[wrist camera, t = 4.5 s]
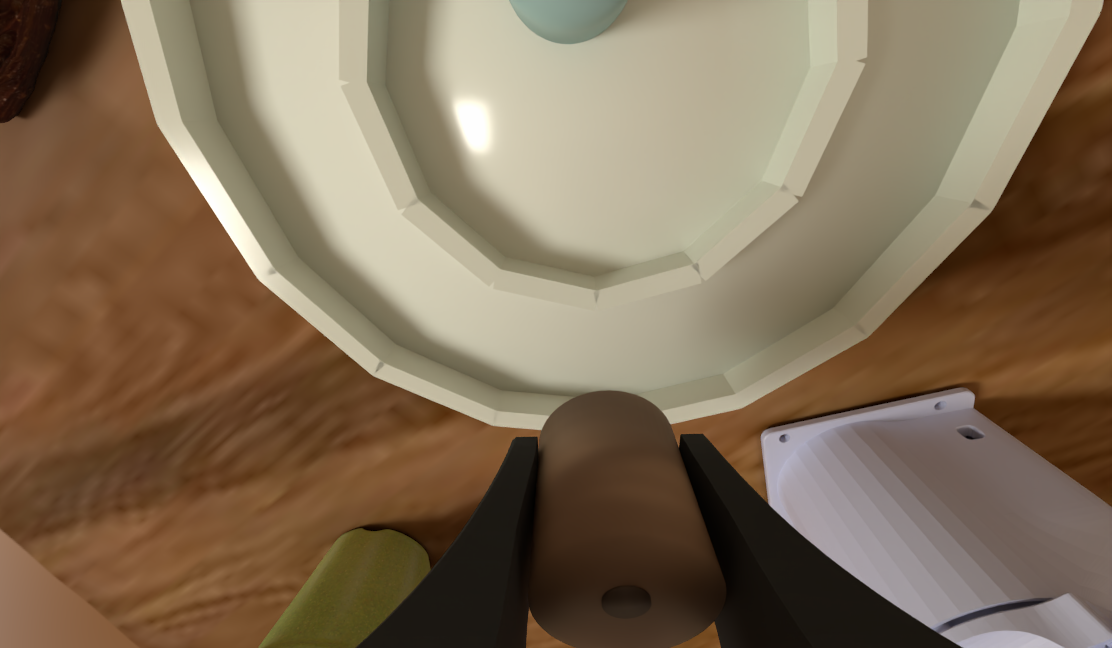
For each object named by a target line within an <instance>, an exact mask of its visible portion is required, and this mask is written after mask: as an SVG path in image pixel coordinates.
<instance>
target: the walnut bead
mask: <svg viewBox="0 0 1112 648" xmlns="http://www.w3.org/2000/svg"><path fill="white" fill-rule="evenodd" d="M538 453H539V454H538V468H537V481H536V492H535V505H534V519H533V533H532V546H531V560H530V573H529V587H528V603H529V608H530V611H531V613H532V616H533V617H534V619H535V620H536V622H537V623H538V624H539V625H540V626H541V627H542V628H543V629H544V630H545V631H546V632H547V633H549V634H550V635H551V636H553V637H554V638H556V639H558V640H560V641H562V642H564V643H566V644H568V645H570V646H573V647H576V648H670V647H673V646H676V645H679V644H681V643H683V642H685V641H688V640H689V639H691V638H693V637H695V636H697V635H698V634H699V633H701V632H702V631H704V630H705V629H706V628H707V627H708V626H710V625H711V624H712V623H713V622H714V620H715V619H716V618H717V617H718V615H719V614H720V612H721V610H722V609H723V606H724V603H725V600H726V583H725V580H724V577H723V574H722V571H721V568H720V565H719V562H718V560H717V557H716V554H715V551H714V548H713V545H712V542H711V539H710V537H709V534H708V531H707V528H706V525H705V522H704V519H703V516H702V514H701V511H700V508H699V505H698V502H697V499H696V496H695V494H694V491H693V488H692V485H691V482H690V479H689V476H688V473H687V471H686V468H685V465H684V462H683V459H682V456H681V453H680V450H679V448H678V445H677V442H676V439H675V436H674V433H673V430H672V428H671V425H670V423H669V421H668V419H667V417H666V416H665V415H664V413H663V412H662V411H661V410H660V409H659V408H658V407H657V406H656V405H654V404H653V403H652V402H650V401H648V400H646V399H645V398H643V397H640V396H638V395H635V394H632V393H628V392H623V391H613V390H605V391H595V392H589V393H586V394H582V395H579V396H577V397H575V398H572V399H570V400H569V401H567V402H565V403H564V404H562V405H561V406H559V407H558V408H557V409H556V410H555V411H554V412H553V413H552V414H551V415H550V416H549V418H548V419H547V420H546V422H545V424H544V426H543V428H542V431H541V434H540V439H539V451H538Z"/></svg>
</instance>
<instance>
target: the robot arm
mask: <svg viewBox="0 0 1112 648" xmlns="http://www.w3.org/2000/svg"><path fill="white" fill-rule="evenodd" d="M974 401H975V394H974V393H973V392H971V391H970V390H968V389H967V388H964V387H962V388H955V389H951V390H946V391H941V392H937V393H932V394H927V395H923V396H918V397H913V398H909V399H904V400H899V401H895V402H890V403H885V404H881V405H876V406H871V407H867V408H862V409H857V410H853V411H848V412H843V413H839V414H834V415H829V416H825V417H820V418H815V419H811V420H806V421H801V422H797V423H792V424H787V425H783V426H778V427H773V428H769V429H766V430H765V431H764V432H763V433H762V434H761V445H762V453H763V462H764V470H765V478H766V487H767V495H768V503H769V504H768V503H767V502H766V501H765V500H764V499H763V498H762V497H761V496H760V495H759V494H758V493H757V492H756V491H755V490H754V489H753V488H752V487H751V486H750V485H749V484H748V483H747V482H746V481H745V480H744V479H743V478H742V477H741V476H740V475H739V473H738V472H737V471H736V470H735V469H734V468H733V467H732V466H731V465H730V464H729V463H728V461H727V460H726V459H725V458H724V457H723V456H722V455H721V454H720V453H719V451H718V450H717V449H716V448H715V447H714V446H713V445H712V443H711V442H710V441H709V440H708V439H707V438H706V437H705V436H704V435H703V434H681V436H680V445H679V450H680V453H681V456H682V459H683V462H684V465H685V468H686V471H687V473H688V476H689V479H690V482H691V485H692V488H693V491H694V494H695V496H696V499H697V502H698V505H699V508H700V511H701V514H702V516H703V519H704V522H705V525H706V528H707V531H708V534H709V537H710V539H711V542H712V545H713V548H714V551H715V554H716V557H717V560H718V562H719V565H720V568H721V571H722V574H723V577H724V580H725V583H726V600H725V603H724V606H723V609H722V610H721V612H720V614H719V615H718V617H717V618H716V619H715V620H714V621H715V625H716V628H717V632H718V636H719V640H720V645H721V648H1112V507H1111V506H1109V505H1108V504H1107V503H1105V502H1104V501H1103V500H1102V499H1100V498H1099V497H1097V496H1096V495H1095V494H1093V493H1092V492H1090V491H1089V490H1088V489H1086V488H1085V487H1083V486H1082V485H1081V484H1079V483H1078V482H1076V481H1075V480H1074V479H1072V478H1071V477H1069V476H1068V475H1067V474H1065V473H1064V472H1062V471H1061V470H1060V469H1058V468H1057V467H1055V466H1054V465H1053V464H1051V463H1050V462H1048V461H1047V460H1046V459H1044V458H1043V457H1041V456H1040V455H1039V454H1037V453H1036V452H1034V451H1033V450H1031V449H1030V448H1029V447H1027V446H1026V445H1024V444H1023V443H1022V442H1020V441H1019V440H1017V439H1016V438H1015V437H1013V436H1012V435H1010V434H1009V433H1008V432H1006V431H1005V430H1003V429H1002V428H1001V427H999V426H998V425H996V424H995V423H994V422H992V421H991V420H989V419H988V418H987V417H985V416H984V415H982V414H981V413H980V412H978V411H977V410H975V409H974V408H973V407H974ZM784 434H785V435H784ZM781 435H784V436H782V437H780V436H781ZM538 454H539V453H538V439H537V437H516V438H515V439H514V440H512V443H511V446H510V448H509V450H508V453H507V455H506V457H505V459H504V461H503V463H502V465H501V467H500V469H499V471H498V473H497V475H496V477H495V478H494V480H493V482H492V484H491V485H490V487H489V489H488V491H487V492H486V494H485V496H484V497H483V499H482V501H481V502H480V504H479V505H478V507H477V508H476V510H475V511H474V513H473V514H472V516H471V518H470V519H469V521H468V522H467V524H466V525H465V526H464V528H463V529H462V531H461V532H460V533H459V535H458V536H457V538H456V539H455V540H454V542H453V543H452V544H451V546H450V547H449V548H448V549H447V551H446V552H445V553H444V555H443V556H442V557H441V558H440V560H439V561H438V562H437V563H436V564H435V565H434V567H433V568H432V569H431V570H430V571H429V573H428V574H427V575H426V576H425V577H424V579H423V580H422V581H421V582H420V583H419V584H418V585H417V586H416V588H415V589H414V590H413V591H412V592H411V593H410V594H409V595H408V596H407V597H406V598H405V599H404V600H403V601H402V602H401V603H400V604H399V605H398V607H397V608H396V609H395V610H394V611H393V612H392V613H391V614H390V615H389V616H388V617H387V618H386V619H385V620H384V621H383V622H382V623H381V624H380V625H379V626H378V627H377V628H376V629H375V630H374V631H373V632H372V633H371V634H370V635H369V636H367V637H366V638H365V639H364V640H363V641H362V642H361V643H360V644H359V645H358V646H356V647H355V648H526V635H527V621H528V611H529V603H528V587H529V573H530V560H531V546H532V533H533V519H534V505H535V492H536V481H537V468H538Z"/></svg>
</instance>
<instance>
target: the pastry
mask: <svg viewBox="0 0 1112 648" xmlns="http://www.w3.org/2000/svg"><path fill="white" fill-rule="evenodd" d="M61 3H62V0H0V123H5V122H8V121H10V120H11V119H12V118H14V117H15V116H16V115H17V114H19V112H20V111H21V109H22V107H23V105H24V103H25V102H26V100H27V99H28V98H29V96H30V95H31V94H32V92H33V91H34V88H35V83H36V79H37V75H38V73H39V70H40V68H41V66H42V64H43V62H44V61H45V59H46V56H47V54H48V49H49V44H50V41H51V38H52V35H53V32H54V30H55V26H56V22H57V19H58V13H59V10H60V7H61Z"/></svg>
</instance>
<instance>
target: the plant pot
mask: <svg viewBox="0 0 1112 648" xmlns="http://www.w3.org/2000/svg"><path fill="white" fill-rule="evenodd" d="M430 570H431V568H430V563H429V557H428V554H427V552H426V551H425V550H424V548H423V547H422V546H421V545H420V544H419V543H417V542H416V541H414V540H413V539H411V538H410V537H408V536H406V535H404V534H402V533H399V532H397V531H393V530H390V529H384V530H380V531H367V530H364V529H363V528H358V529H355V530H352V531H349V532H347V533H345V534H343V535H342V536H341V537H339V538H338V539H337V540H336V542H335V543H334V544H333V546H332V547H331V549H330V550H329V551H328V553H327V554H326V555H325V557H324V558H323V559H322V561H321V562H320V563H319V565H318V566H317V568H316V569H315V571H314V572H313V573H312V575H311V576H310V578H309V579H308V580H307V582H306V583H305V585H304V586H303V587H302V589H301V590H300V592H299V593H298V594H297V596H296V597H295V598H294V600H293V601H292V602H291V604H290V605H289V606H288V608H287V609H286V611H285V612H284V613H283V615H282V616H281V617H280V619H279V620H278V621H277V623H276V624H275V626H274V627H273V628H272V630H271V631H270V632H269V634H268V635H267V636H266V638H265V639H264V640H263V642H262V643H261V645H260V646H259V647H258V648H355V647H356V646H358V645H359V644H360V643H361V642H362V641H363V640H364V639H365V638H366V637H367V636H369V635H370V634H371V633H372V632H373V631H374V630H375V629H376V628H377V627H378V626H379V625H380V624H381V623H382V622H383V621H384V620H385V619H386V618H387V617H388V616H389V615H390V614H391V613H392V612H393V611H394V610H395V609H396V608H397V607H398V605H399V604H400V603H401V602H402V601H403V600H404V599H405V598H406V597H407V596H408V595H409V594H410V593H411V592H412V591H413V590H414V589H415V588H416V586H417V585H418V584H419V583H420V582H421V581H422V580H423V579H424V577H425V576H426V575H427V574H428V573H429V571H430Z"/></svg>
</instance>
